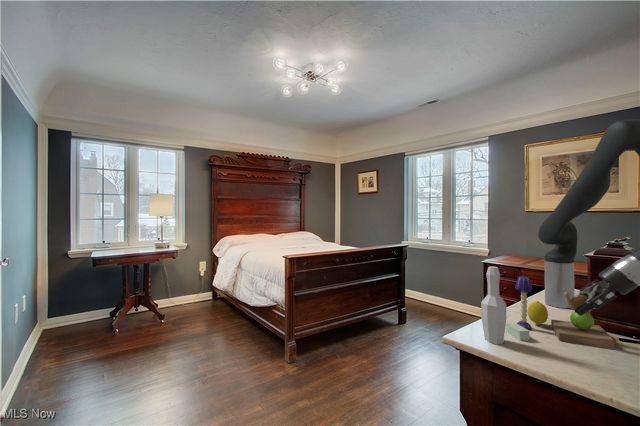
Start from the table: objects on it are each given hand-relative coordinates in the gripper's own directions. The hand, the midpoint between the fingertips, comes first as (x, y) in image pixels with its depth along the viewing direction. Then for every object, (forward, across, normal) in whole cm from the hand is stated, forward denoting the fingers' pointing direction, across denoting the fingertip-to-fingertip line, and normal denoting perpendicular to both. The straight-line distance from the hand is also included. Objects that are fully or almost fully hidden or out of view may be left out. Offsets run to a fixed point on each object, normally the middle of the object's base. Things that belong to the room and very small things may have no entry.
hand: (573, 308), depth 92 cm
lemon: (+12, -5, 0) cm, 13 cm away
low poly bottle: (+21, +15, -9) cm, 27 cm away
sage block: (+16, +8, -4) cm, 19 cm away
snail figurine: (+3, 0, +5) cm, 6 cm away
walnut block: (+6, 0, +7) cm, 9 cm away
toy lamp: (+15, 0, -3) cm, 15 cm away
